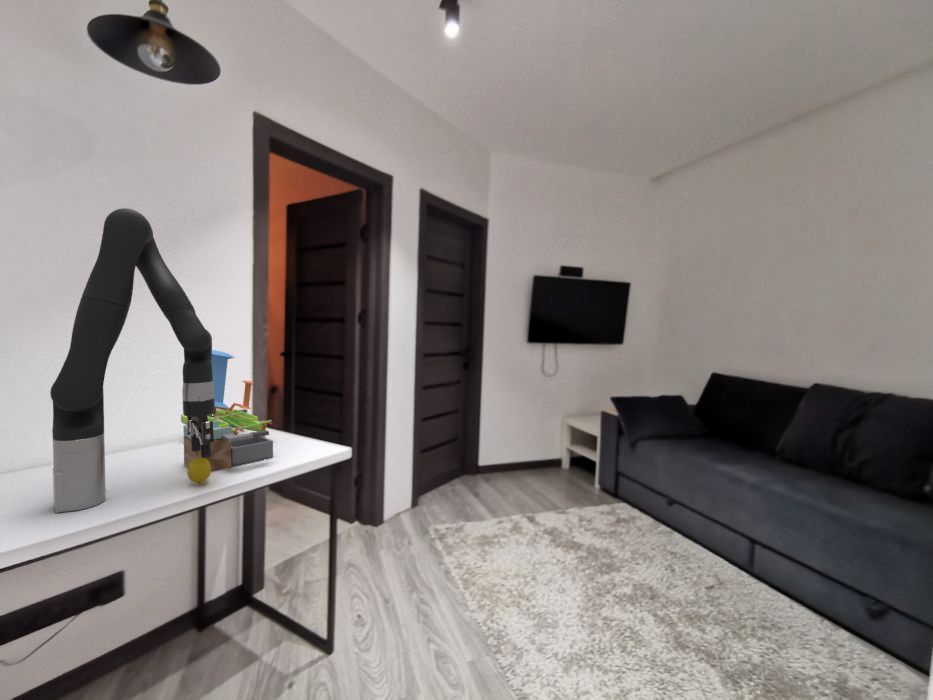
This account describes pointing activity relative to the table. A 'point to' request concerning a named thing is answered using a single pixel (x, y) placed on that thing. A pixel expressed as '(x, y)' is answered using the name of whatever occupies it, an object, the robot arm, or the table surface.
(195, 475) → the lemon
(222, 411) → the catamaran
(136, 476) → the table surface
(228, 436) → the tray
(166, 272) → the robot arm
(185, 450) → the pedestal
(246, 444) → the bin
